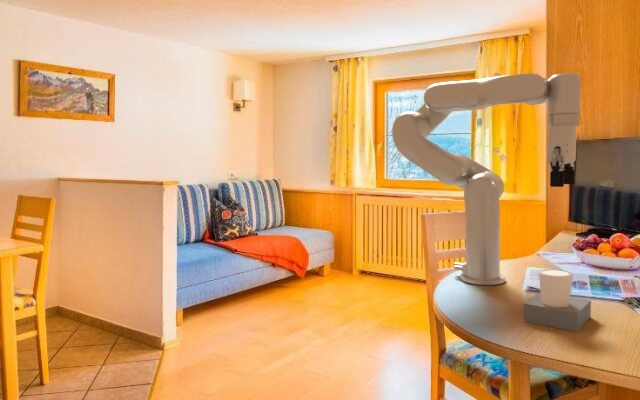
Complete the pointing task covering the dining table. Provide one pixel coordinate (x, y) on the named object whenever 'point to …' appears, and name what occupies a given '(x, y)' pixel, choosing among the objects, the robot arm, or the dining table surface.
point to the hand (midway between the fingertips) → (562, 185)
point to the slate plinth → (558, 313)
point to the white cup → (555, 287)
